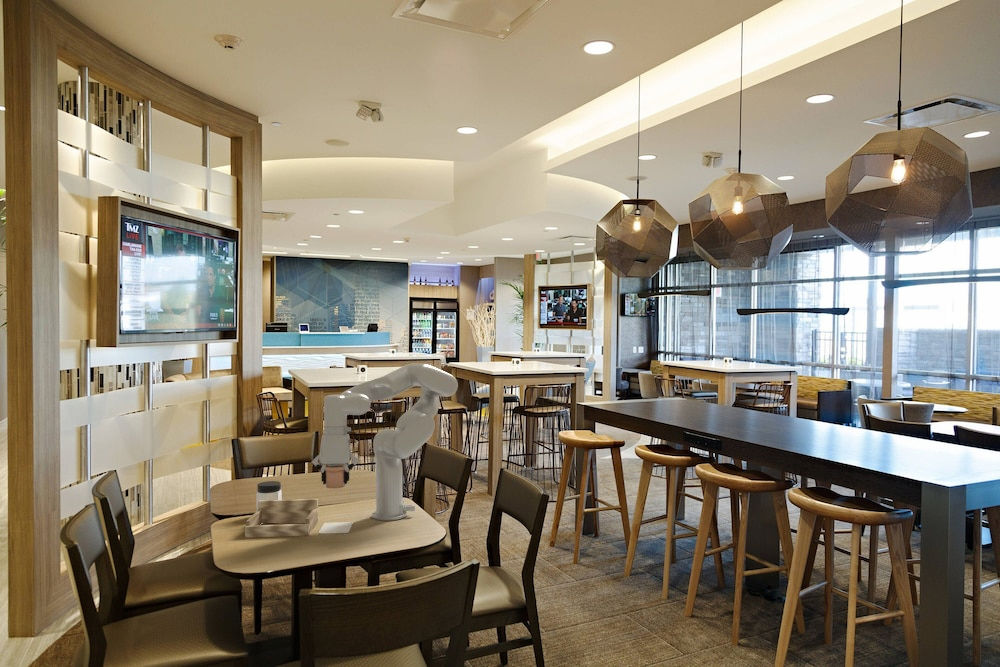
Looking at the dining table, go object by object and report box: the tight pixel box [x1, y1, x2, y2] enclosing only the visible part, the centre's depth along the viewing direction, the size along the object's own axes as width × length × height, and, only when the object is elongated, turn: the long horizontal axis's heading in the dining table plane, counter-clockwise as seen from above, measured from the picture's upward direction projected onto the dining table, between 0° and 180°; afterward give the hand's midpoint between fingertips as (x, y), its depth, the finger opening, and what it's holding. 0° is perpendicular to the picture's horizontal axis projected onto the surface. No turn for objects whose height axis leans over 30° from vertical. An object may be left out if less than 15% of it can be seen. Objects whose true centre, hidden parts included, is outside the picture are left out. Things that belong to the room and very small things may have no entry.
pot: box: [325, 464, 346, 489], centre depth 224 cm, size 7×7×7 cm
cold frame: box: [244, 498, 319, 538], centre depth 224 cm, size 20×16×8 cm
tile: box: [317, 521, 354, 535], centre depth 224 cm, size 10×12×1 cm
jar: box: [255, 480, 283, 511], centre depth 240 cm, size 9×8×12 cm
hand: (335, 482), depth 224 cm, fingers closed on pot, 6 cm apart
